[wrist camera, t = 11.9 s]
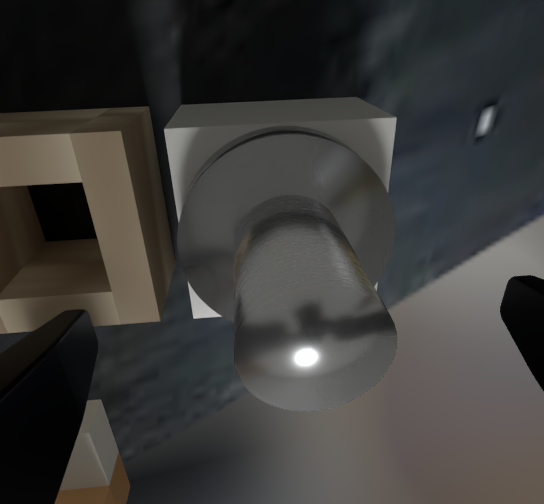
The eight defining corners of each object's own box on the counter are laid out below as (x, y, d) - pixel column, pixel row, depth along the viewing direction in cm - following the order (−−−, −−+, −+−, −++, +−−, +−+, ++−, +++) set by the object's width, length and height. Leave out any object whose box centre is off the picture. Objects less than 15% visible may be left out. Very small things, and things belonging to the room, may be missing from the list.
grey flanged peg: (202, 261, 16) (174, 471, 9) (182, 108, 14) (113, 213, 6) (346, 252, 17) (446, 444, 9) (356, 101, 14) (517, 188, 6)
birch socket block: (22, 271, 16) (-34, 336, 13) (-38, 114, 13) (-133, 143, 10) (175, 261, 17) (160, 321, 13) (149, 106, 14) (120, 130, 10)
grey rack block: (201, 259, 17) (193, 318, 13) (181, 104, 14) (164, 128, 10) (346, 249, 17) (375, 304, 14) (356, 96, 14) (396, 117, 11)
